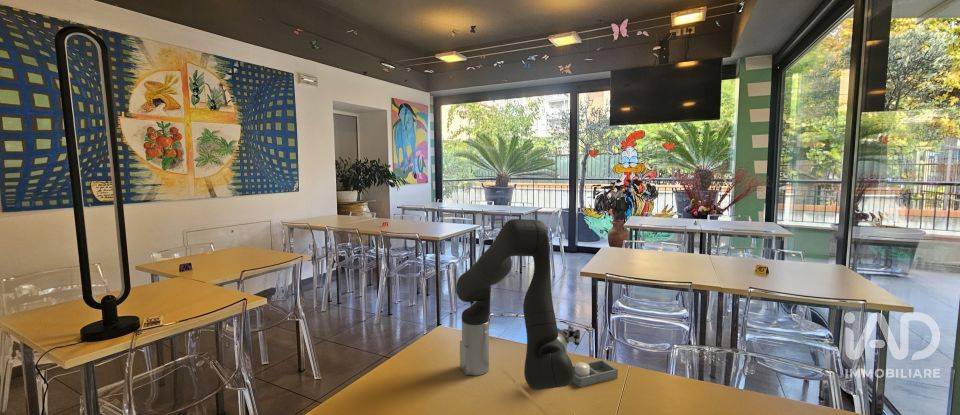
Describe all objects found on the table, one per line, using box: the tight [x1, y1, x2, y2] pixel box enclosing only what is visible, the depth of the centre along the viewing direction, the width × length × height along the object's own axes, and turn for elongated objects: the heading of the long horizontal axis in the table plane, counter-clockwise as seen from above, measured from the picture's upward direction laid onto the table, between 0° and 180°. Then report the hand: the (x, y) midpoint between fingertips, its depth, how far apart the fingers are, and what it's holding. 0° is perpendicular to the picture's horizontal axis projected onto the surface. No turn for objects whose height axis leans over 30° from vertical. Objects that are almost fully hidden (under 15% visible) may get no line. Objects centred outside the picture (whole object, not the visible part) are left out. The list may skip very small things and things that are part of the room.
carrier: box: [571, 359, 619, 388], centre depth 135 cm, size 15×8×4 cm, turn 113°
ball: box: [574, 361, 590, 378], centre depth 134 cm, size 5×5×4 cm
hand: (554, 328), depth 122 cm, fingers open, 8 cm apart
